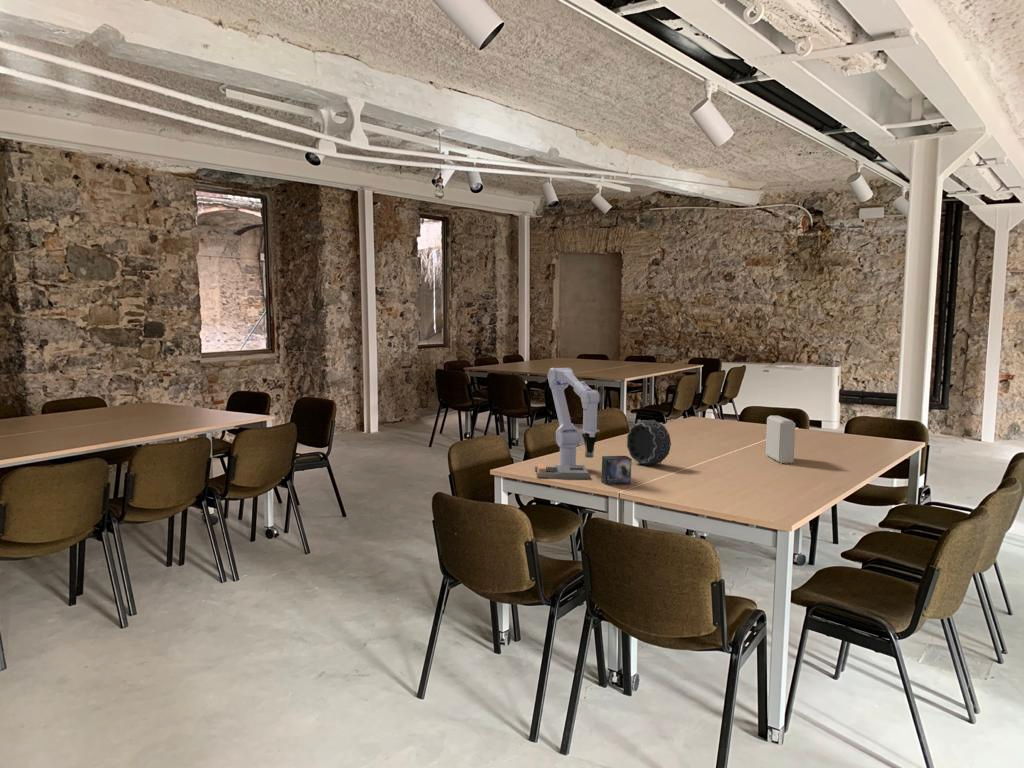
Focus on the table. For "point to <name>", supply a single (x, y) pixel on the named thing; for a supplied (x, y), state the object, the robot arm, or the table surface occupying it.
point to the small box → (616, 470)
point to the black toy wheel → (648, 442)
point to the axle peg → (589, 455)
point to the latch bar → (541, 468)
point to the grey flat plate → (566, 472)
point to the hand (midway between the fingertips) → (589, 451)
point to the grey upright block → (780, 439)
